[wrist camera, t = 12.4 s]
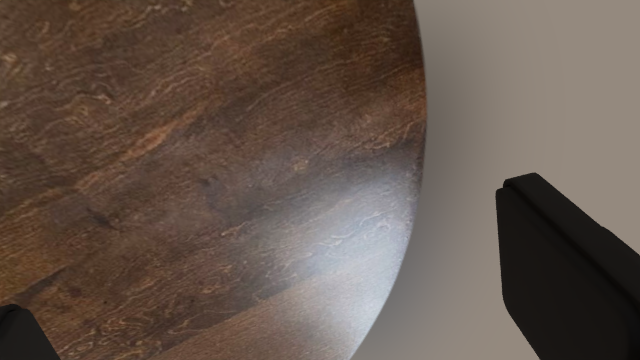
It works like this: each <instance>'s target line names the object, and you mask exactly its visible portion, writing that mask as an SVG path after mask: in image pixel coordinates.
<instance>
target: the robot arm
mask: <svg viewBox="0 0 640 360" xmlns="http://www.w3.org/2000/svg"><path fill="white" fill-rule="evenodd" d="M496 210H497V223H498V237H499V238H498V239H499V253H500V266H501V279H502V280H501V281H502V295H503V300H504V303H505V306H506V309H507V311H508V312H509V314H510V316H511V317H512V319H513V320H514V322H515V323H516V324H517V326H518V327H519V329H520V331H521V332H522V333H523V335H524V336H525V338H526V339H527V341H528V342H529V344H530V345H531V347H532V348H533V349H534V351H535V353H536V354H537V356H538V357H539V359H540V360H640V255H639V254H638V253H636V252H635V251H634V250H633V249H632V248H630V247H629V246H628V245H627V244H625V243H624V242H623V241H622V240H620V239H619V238H618V237H617V236H615V235H614V234H613V233H612V232H610V231H609V230H608V229H606V228H604V227H602V226H600V225H599V224H598V223H597V222H595V221H594V220H593V219H592V218H591V217H589V216H588V215H587V214H586V213H585V212H583V211H582V210H581V209H580V208H579V207H577V206H576V205H575V204H574V203H573V202H571V201H570V200H569V199H568V198H566V197H565V196H564V195H563V194H562V193H560V192H559V191H558V190H557V189H556V188H554V187H553V186H552V185H551V184H550V183H548V182H547V181H546V180H545V179H543V178H542V177H541V176H540V175H539V174H537V173H530V174H526V175H521V176H517V177H513V178H510V179H506V180H505V181H504V184H503V188H500V189H497V191H496ZM0 360H61V359H60V358H59V356H58V355H57V353H56V351H55V350H54V348H53V347H52V345H51V343H50V342H49V340H48V339H47V337H46V335H45V334H44V332H43V330H42V329H41V327H40V326H39V324H38V322H37V321H36V319H35V318H34V316H33V314H32V313H31V312H30V311H29V310H27V309H22V308H21V307H20V306H18V305H16V304H9V305H5V306H1V307H0Z"/></svg>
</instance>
